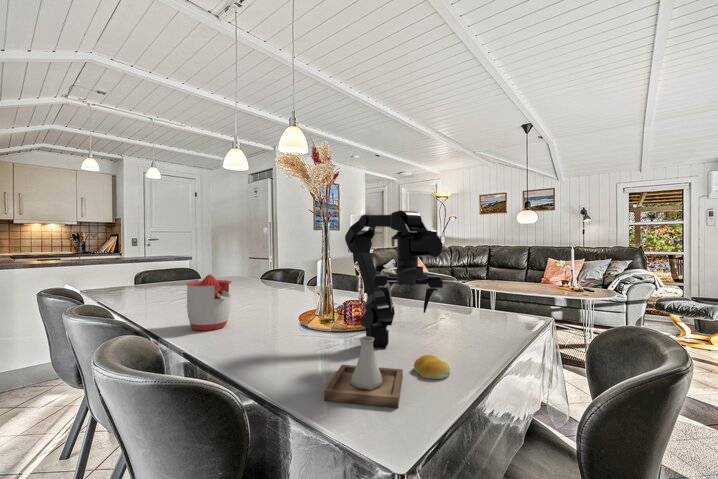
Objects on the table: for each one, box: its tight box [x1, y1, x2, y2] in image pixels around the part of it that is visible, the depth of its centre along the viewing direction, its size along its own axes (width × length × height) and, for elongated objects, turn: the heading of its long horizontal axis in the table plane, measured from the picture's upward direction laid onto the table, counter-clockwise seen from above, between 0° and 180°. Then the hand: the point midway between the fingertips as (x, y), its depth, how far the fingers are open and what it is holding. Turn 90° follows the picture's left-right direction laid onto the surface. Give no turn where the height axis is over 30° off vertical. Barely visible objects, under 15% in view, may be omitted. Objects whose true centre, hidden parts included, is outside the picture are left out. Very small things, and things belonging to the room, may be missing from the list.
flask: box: [350, 335, 383, 390], centre depth 74 cm, size 7×7×10 cm
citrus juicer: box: [186, 274, 232, 332], centre depth 126 cm, size 16×17×20 cm
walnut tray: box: [323, 364, 404, 409], centre depth 74 cm, size 15×15×2 cm
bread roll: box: [413, 354, 451, 380], centre depth 83 cm, size 8×9×4 cm
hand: (407, 311), depth 93 cm, fingers open, 9 cm apart
